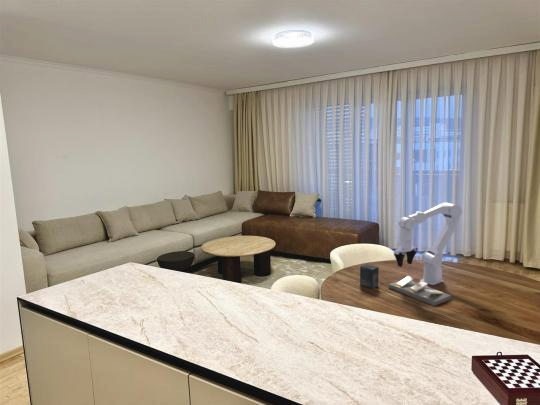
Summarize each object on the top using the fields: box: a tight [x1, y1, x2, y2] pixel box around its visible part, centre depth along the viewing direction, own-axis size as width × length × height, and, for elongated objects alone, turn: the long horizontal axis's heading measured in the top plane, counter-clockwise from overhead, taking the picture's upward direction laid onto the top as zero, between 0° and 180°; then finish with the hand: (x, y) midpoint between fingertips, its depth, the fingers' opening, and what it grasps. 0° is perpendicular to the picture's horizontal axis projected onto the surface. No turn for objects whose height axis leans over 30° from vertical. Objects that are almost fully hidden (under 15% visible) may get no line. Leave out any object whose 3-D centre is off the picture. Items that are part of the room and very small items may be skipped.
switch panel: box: [388, 279, 452, 307], centre depth 178 cm, size 13×26×2 cm, turn 32°
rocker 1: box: [397, 275, 414, 287], centre depth 185 cm, size 9×4×1 cm, turn 121°
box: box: [359, 263, 379, 289], centre depth 189 cm, size 8×6×11 cm
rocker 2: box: [410, 281, 429, 292], centre depth 178 cm, size 9×4×1 cm, turn 121°
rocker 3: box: [424, 289, 443, 294], centre depth 171 cm, size 9×4×1 cm, turn 122°
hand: (404, 265), depth 189 cm, fingers open, 7 cm apart
